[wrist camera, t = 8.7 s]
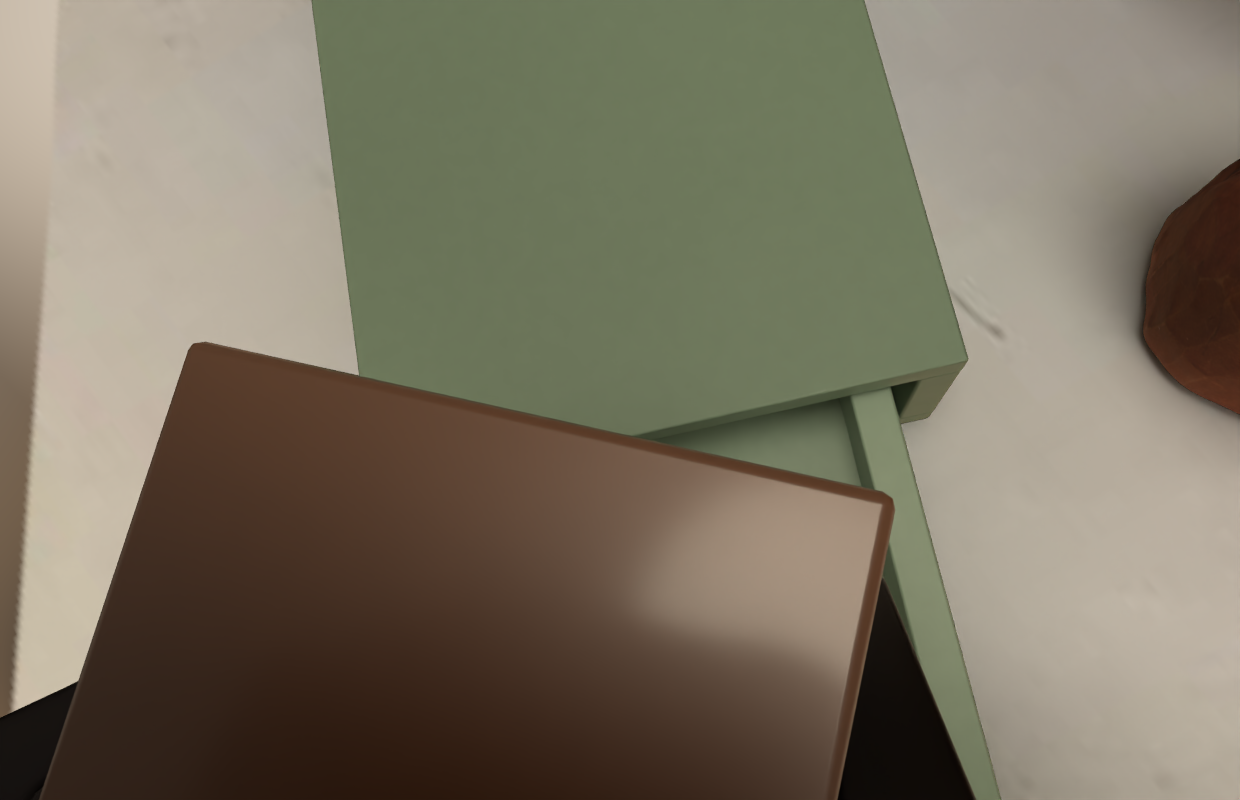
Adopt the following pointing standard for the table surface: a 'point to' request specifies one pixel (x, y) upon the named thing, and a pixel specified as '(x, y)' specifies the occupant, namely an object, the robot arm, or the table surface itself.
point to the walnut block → (464, 607)
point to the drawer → (878, 459)
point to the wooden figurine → (1199, 292)
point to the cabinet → (631, 208)
